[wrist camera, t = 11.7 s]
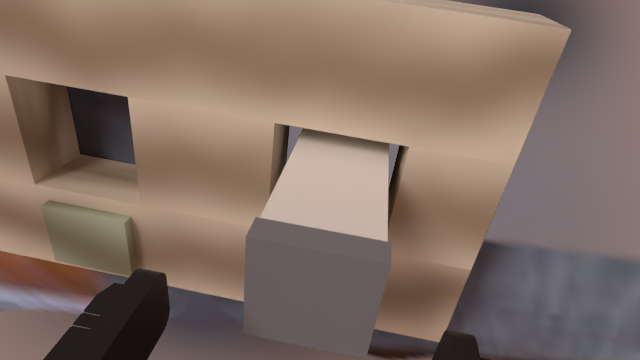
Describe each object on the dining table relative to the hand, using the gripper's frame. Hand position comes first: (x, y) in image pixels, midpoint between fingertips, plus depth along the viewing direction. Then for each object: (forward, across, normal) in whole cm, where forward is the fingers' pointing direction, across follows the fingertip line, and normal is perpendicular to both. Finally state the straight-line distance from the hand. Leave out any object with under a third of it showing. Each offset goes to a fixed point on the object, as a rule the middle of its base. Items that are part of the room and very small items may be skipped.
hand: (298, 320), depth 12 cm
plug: (+11, 0, 0) cm, 11 cm away
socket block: (+11, +6, 0) cm, 12 cm away
